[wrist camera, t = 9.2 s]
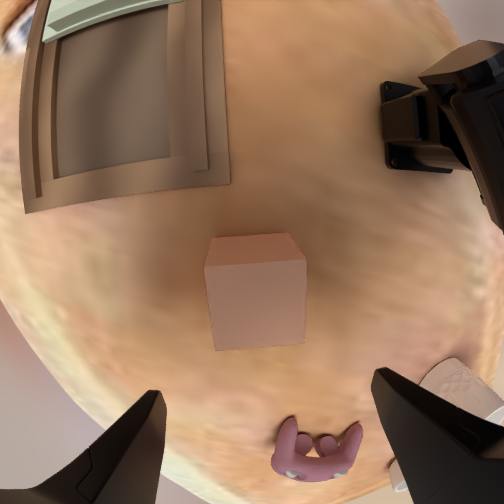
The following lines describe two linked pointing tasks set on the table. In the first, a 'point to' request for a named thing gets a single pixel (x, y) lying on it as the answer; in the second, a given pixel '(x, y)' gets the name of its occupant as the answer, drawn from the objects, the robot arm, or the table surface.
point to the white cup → (464, 390)
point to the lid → (88, 14)
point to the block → (256, 291)
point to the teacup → (397, 477)
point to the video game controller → (331, 456)
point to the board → (124, 106)
